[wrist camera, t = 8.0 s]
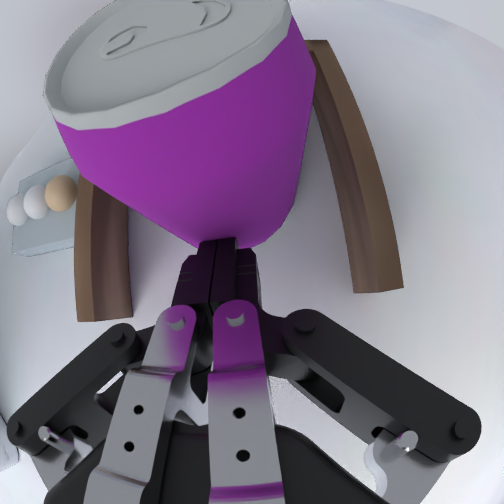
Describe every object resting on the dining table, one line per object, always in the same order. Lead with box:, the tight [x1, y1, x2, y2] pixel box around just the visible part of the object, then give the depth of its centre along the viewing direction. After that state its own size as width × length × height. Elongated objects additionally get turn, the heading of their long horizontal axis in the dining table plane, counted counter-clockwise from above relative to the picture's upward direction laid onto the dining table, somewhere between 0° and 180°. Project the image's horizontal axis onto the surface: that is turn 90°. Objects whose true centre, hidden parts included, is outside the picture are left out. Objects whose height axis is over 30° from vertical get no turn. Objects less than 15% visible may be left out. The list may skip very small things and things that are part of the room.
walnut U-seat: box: [74, 40, 404, 322], centre depth 14 cm, size 15×15×4 cm
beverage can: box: [43, 0, 316, 249], centre depth 10 cm, size 8×8×12 cm
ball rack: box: [6, 158, 79, 257], centre depth 15 cm, size 8×6×4 cm
